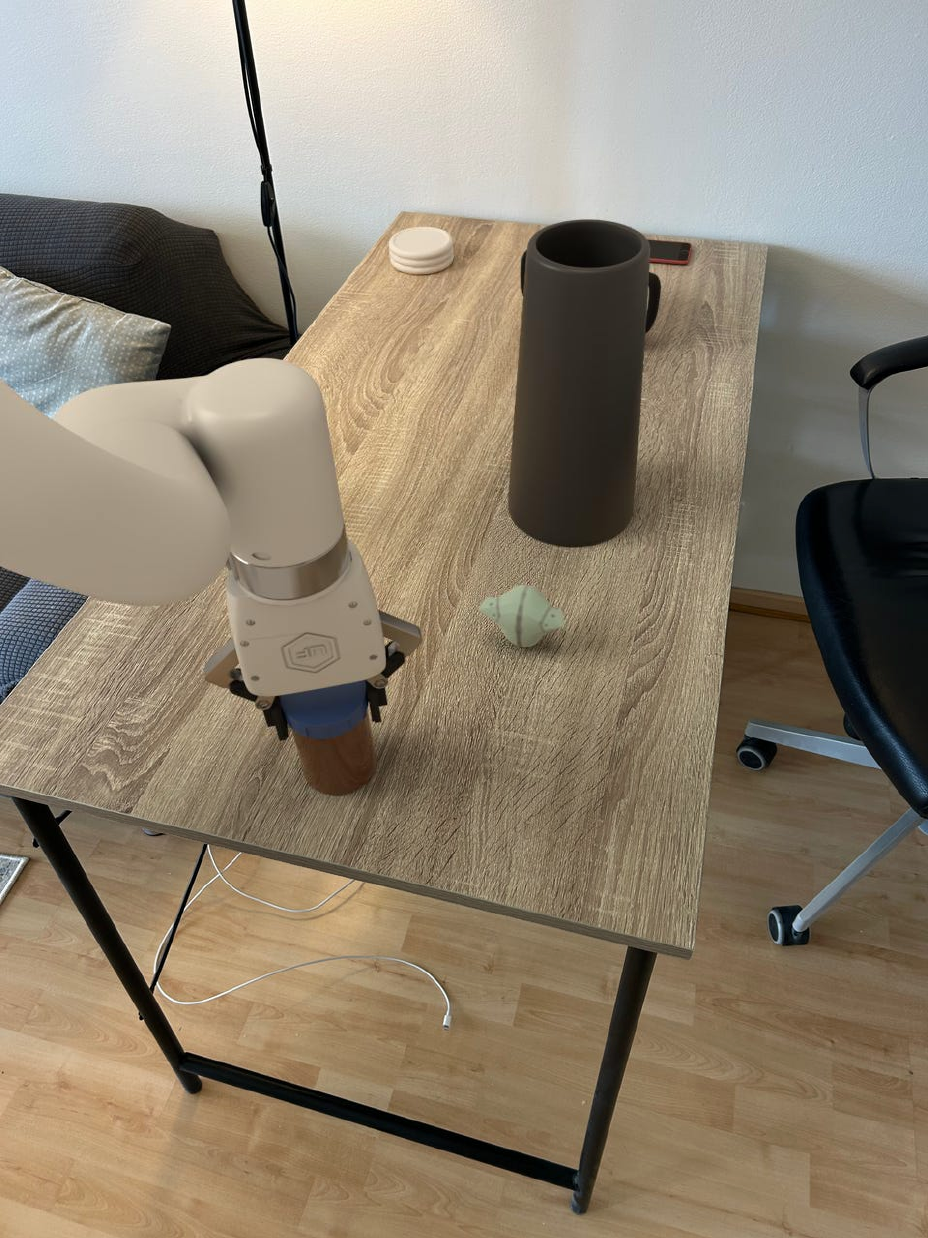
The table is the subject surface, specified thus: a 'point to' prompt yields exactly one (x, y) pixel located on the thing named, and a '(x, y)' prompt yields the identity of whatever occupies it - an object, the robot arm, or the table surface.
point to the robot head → (523, 615)
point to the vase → (579, 382)
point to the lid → (326, 709)
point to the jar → (338, 759)
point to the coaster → (421, 250)
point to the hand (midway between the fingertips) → (329, 716)
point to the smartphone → (669, 251)
